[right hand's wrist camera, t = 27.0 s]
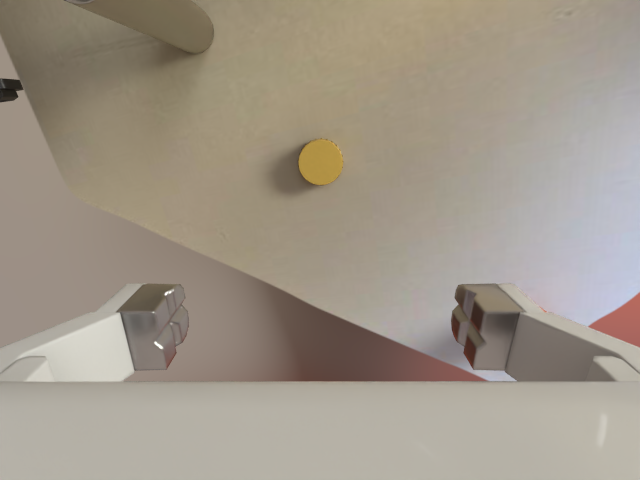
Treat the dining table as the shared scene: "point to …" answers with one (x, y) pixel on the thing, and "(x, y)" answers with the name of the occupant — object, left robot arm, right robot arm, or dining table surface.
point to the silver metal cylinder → (159, 20)
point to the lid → (320, 161)
